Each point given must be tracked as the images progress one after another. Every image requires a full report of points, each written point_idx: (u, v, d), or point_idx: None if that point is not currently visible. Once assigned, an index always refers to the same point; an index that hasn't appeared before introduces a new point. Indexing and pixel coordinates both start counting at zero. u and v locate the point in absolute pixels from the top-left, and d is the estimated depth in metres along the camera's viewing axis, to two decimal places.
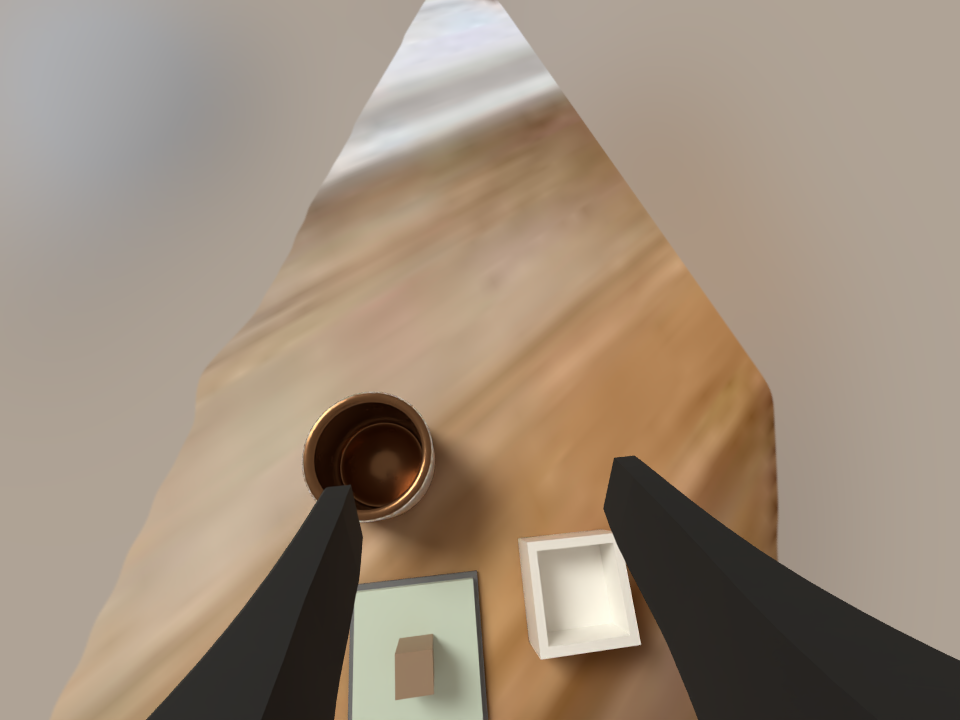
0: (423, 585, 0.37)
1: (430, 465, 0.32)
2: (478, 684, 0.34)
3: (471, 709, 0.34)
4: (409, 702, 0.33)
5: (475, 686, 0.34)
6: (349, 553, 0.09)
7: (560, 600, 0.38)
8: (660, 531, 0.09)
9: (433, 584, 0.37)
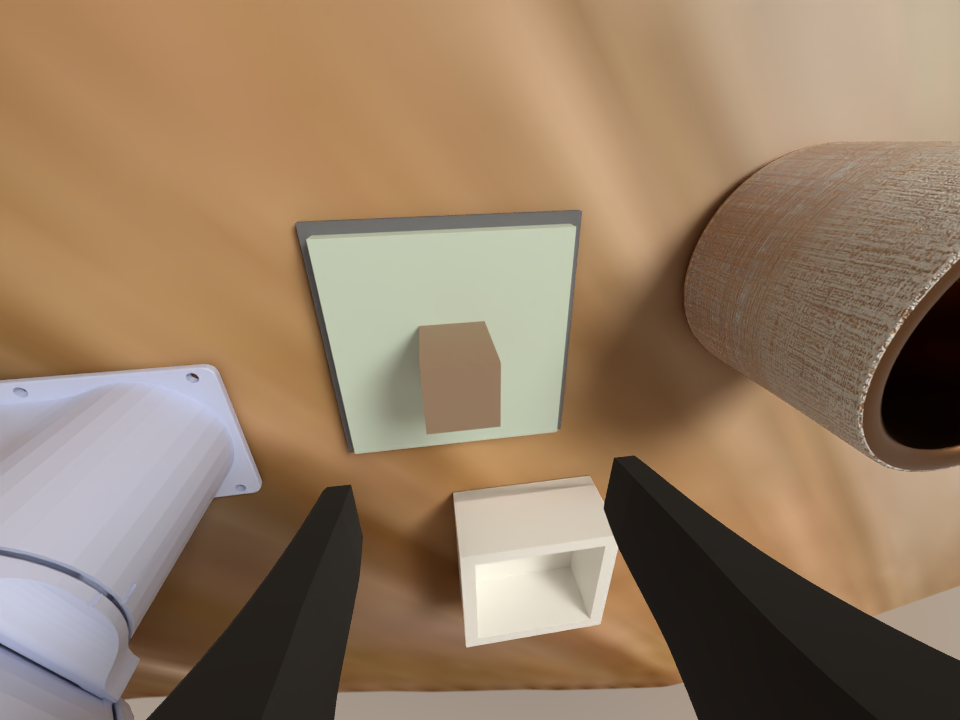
0: (562, 357, 0.19)
1: (906, 470, 0.14)
2: (407, 445, 0.21)
3: (372, 438, 0.20)
4: (381, 344, 0.18)
5: (404, 441, 0.20)
6: (349, 553, 0.09)
7: None
8: (660, 531, 0.09)
9: (560, 373, 0.20)
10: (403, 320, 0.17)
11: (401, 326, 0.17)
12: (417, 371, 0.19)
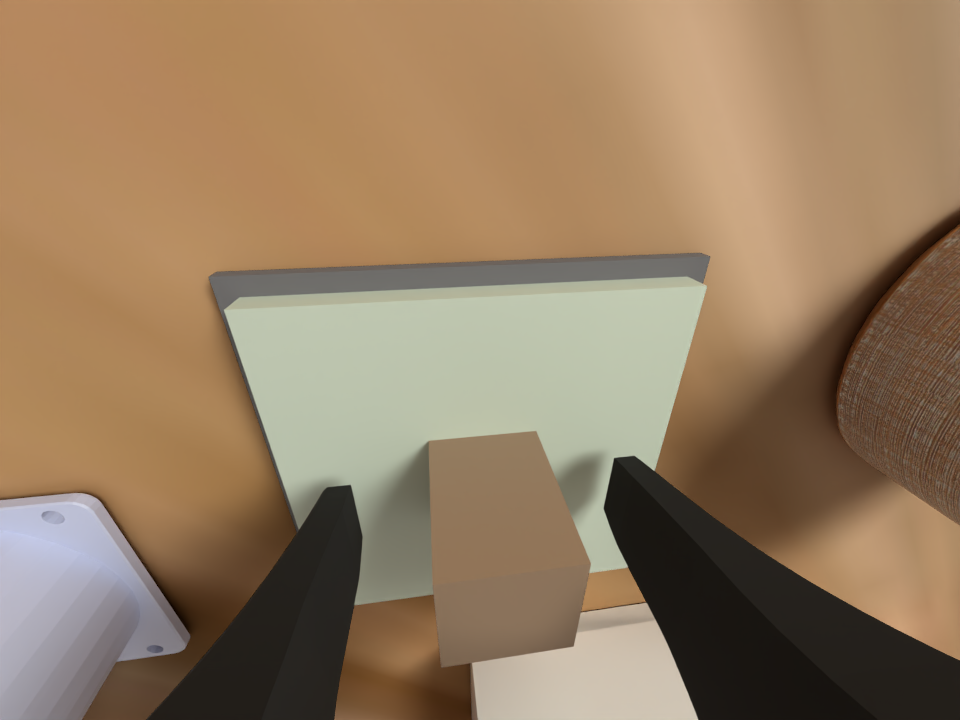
0: None
1: None
2: (405, 595, 0.14)
3: None
4: (365, 468, 0.11)
5: (401, 590, 0.13)
6: (349, 553, 0.09)
7: None
8: (660, 531, 0.09)
9: None
10: (403, 434, 0.10)
11: (398, 442, 0.10)
12: (424, 502, 0.12)
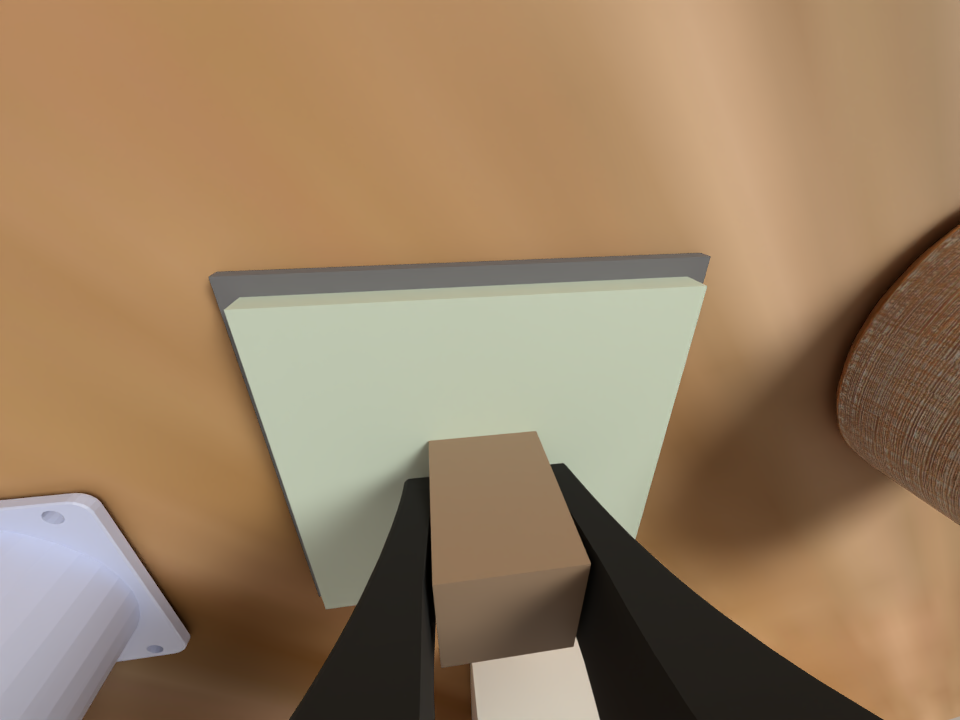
0: (650, 475, 0.12)
1: None
2: None
3: (352, 589, 0.13)
4: (365, 468, 0.11)
5: None
6: None
7: None
8: None
9: (644, 496, 0.13)
10: (403, 434, 0.10)
11: (398, 442, 0.10)
12: None
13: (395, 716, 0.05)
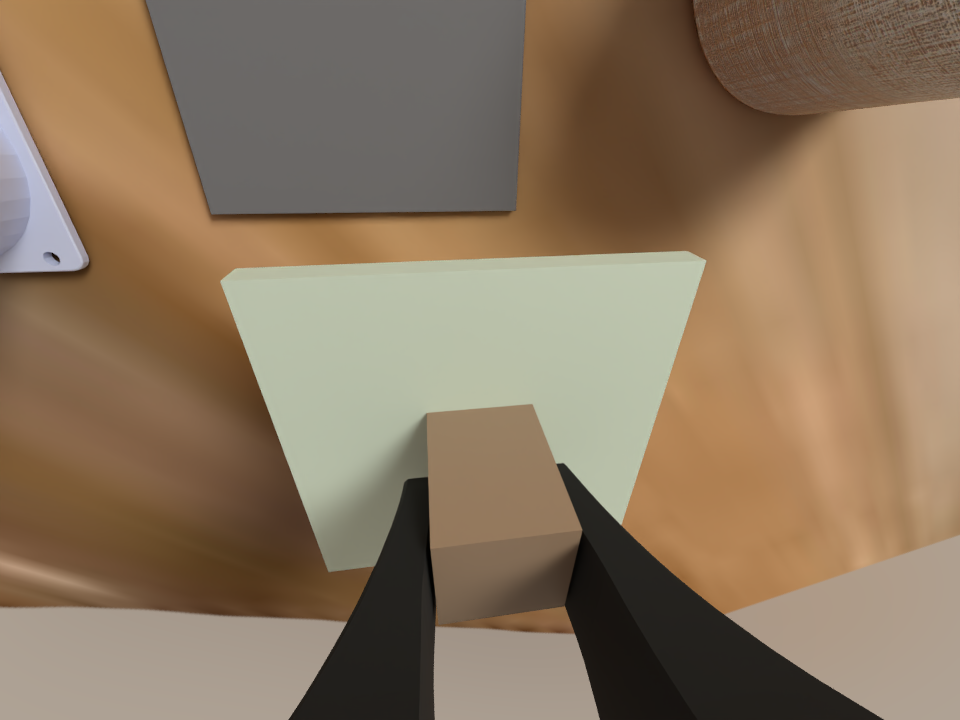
0: (642, 447, 0.13)
1: None
2: None
3: (353, 553, 0.14)
4: (364, 439, 0.11)
5: None
6: None
7: None
8: None
9: (636, 468, 0.13)
10: (401, 406, 0.10)
11: (397, 414, 0.11)
12: (422, 472, 0.12)
13: (394, 716, 0.05)
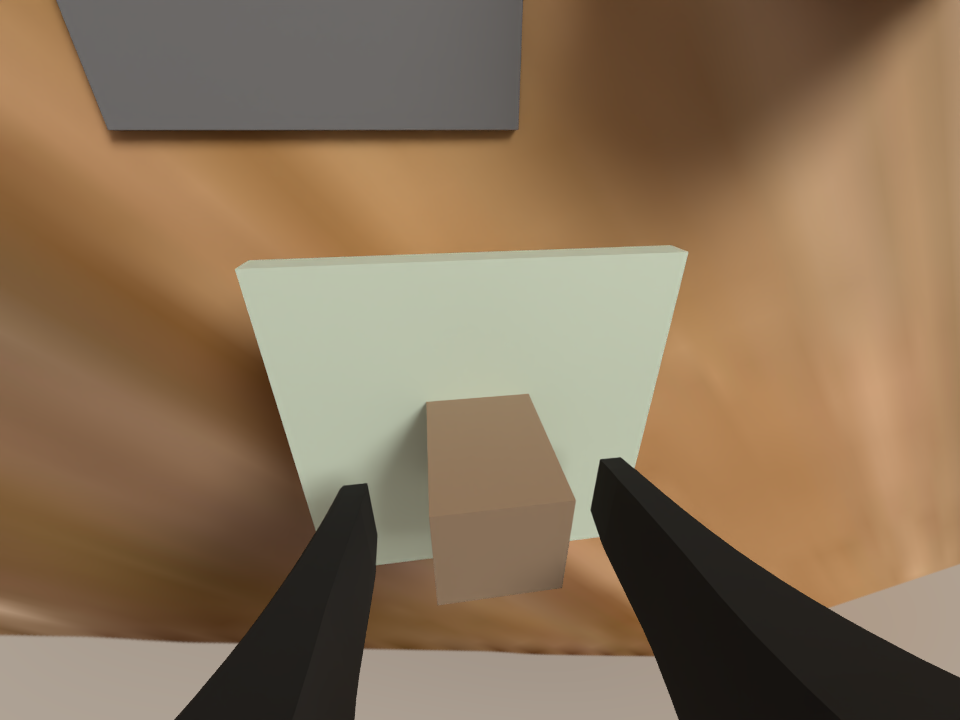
0: (638, 440, 0.13)
1: None
2: (404, 558, 0.14)
3: None
4: (366, 429, 0.11)
5: (400, 553, 0.14)
6: (366, 551, 0.09)
7: None
8: (643, 533, 0.09)
9: (633, 462, 0.13)
10: (402, 394, 0.11)
11: (398, 402, 0.11)
12: (422, 464, 0.12)
13: None
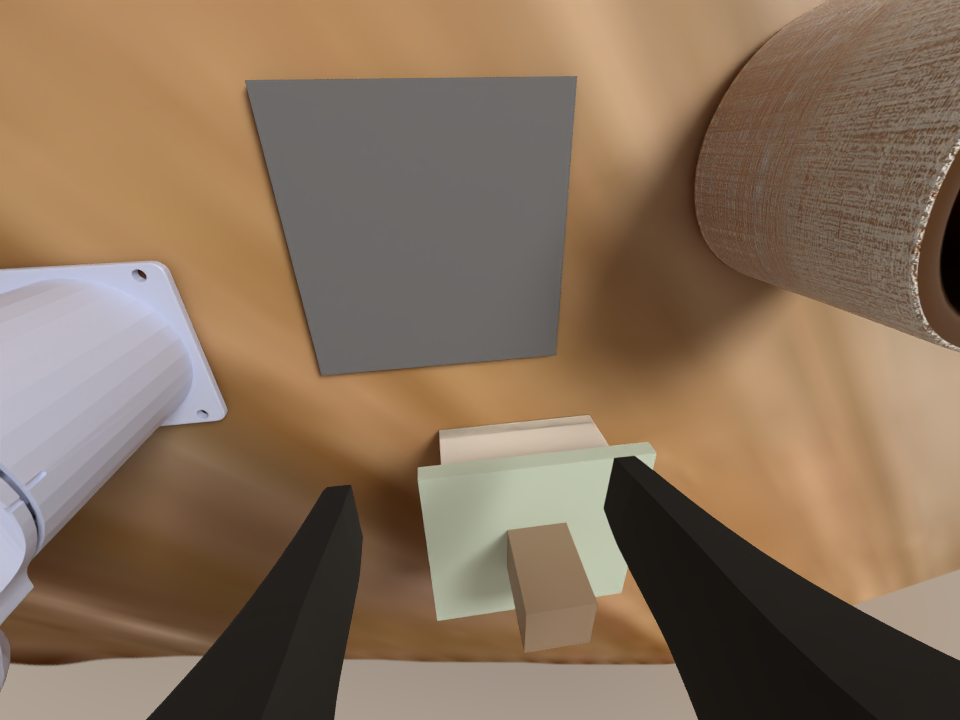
0: None
1: None
2: (484, 611, 0.22)
3: (454, 609, 0.22)
4: (472, 545, 0.19)
5: (482, 609, 0.22)
6: (349, 553, 0.09)
7: None
8: (660, 531, 0.09)
9: None
10: (494, 527, 0.19)
11: (491, 531, 0.19)
12: (501, 560, 0.20)
13: None
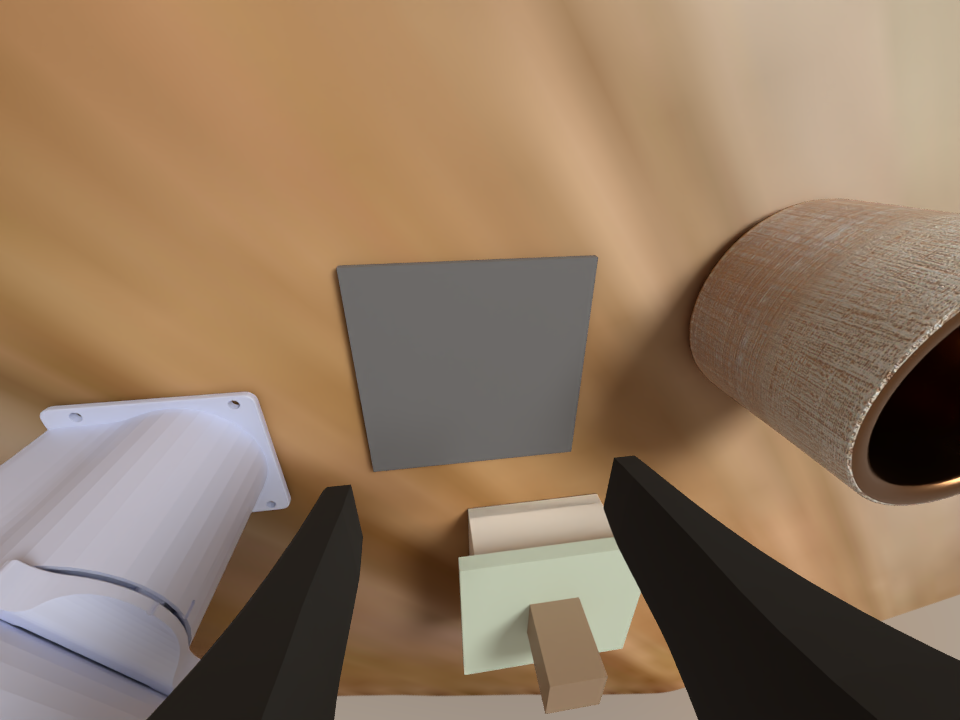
0: (633, 608, 0.25)
1: (891, 504, 0.15)
2: (505, 666, 0.26)
3: (480, 665, 0.25)
4: (499, 616, 0.23)
5: (503, 664, 0.26)
6: (349, 553, 0.09)
7: None
8: (660, 531, 0.09)
9: (631, 617, 0.25)
10: (519, 603, 0.22)
11: (516, 606, 0.23)
12: (522, 627, 0.24)
13: None
